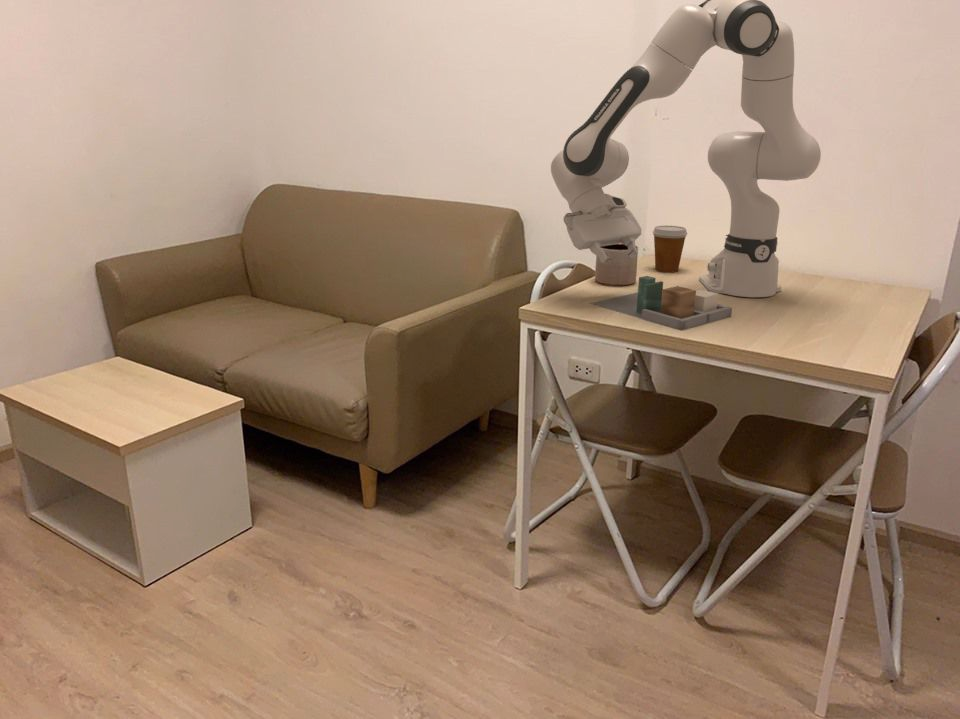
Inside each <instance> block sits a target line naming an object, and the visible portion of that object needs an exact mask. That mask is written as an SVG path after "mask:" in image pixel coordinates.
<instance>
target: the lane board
mask: <svg viewBox="0 0 960 719" xmlns="http://www.w3.org/2000/svg"><path fill="white" fill-rule="evenodd" d="M637 296H638V292H633V293H629V294H625V295H620V296H616V297H612V298H610V297H609V298H607V299H602V300H598V301H593V302H589V303H588V304H590V305H593V306H595V307H596V306H597V307H600V308H603V309H606V310H610V311H614V312H616V313H617V312H618V313H619V314H620V313H621V314H624V315H627V316H631V317H634V318H638V319H641V320H644V321H648V322H651V323H654V324H659V325H661V326H665V327H669V328H672V329H676V330H678V331H684V330H688V329H692V328H695V327H699V326H703V325H707V324H709V323H714V322H717V321H720V320H725V319H728V318H732V313H733V307H731V306H728V305H723V304H719V303H717V310H713V311H709V312H701V311H698V310H694V316H690V317H687V318H683V319H680V318H677V317H673V316H670V315H666V314H662V313H659V312H655V311H652V310H648V309H643V310H642V313H639V312H636V309H637ZM661 303H662V302H661Z"/></svg>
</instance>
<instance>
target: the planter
mask: <svg viewBox="0 0 960 719" xmlns="http://www.w3.org/2000/svg"><path fill="white" fill-rule="evenodd" d="M600 248H601V249H602V250H603V251H604V252H608V254H609V256H610V259H609V260H608V261H607V262H601V260H600V258H599V257H598V256H596V255H595V257H596V258H595V270H594V271H595V272H594V280H595V281H596V282H597V283H599V284H600V283H601V284H600V285H604V284H605V286H609V285H611V286H612V287H626V285H627V286H630V285H631V286H632V285H633V284H634V283H636V281H637V273H638V272H637V270H638V257H639V256H638V255H639V253H638V254H637V255H636V256H635V257H629V255H628V254H627V251H628V246H626V245H625V244H624V243H621V244H614V245H608V246H602V247H600ZM635 248H636V250H637V251H638V252H639V246H638V245H635Z"/></svg>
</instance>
